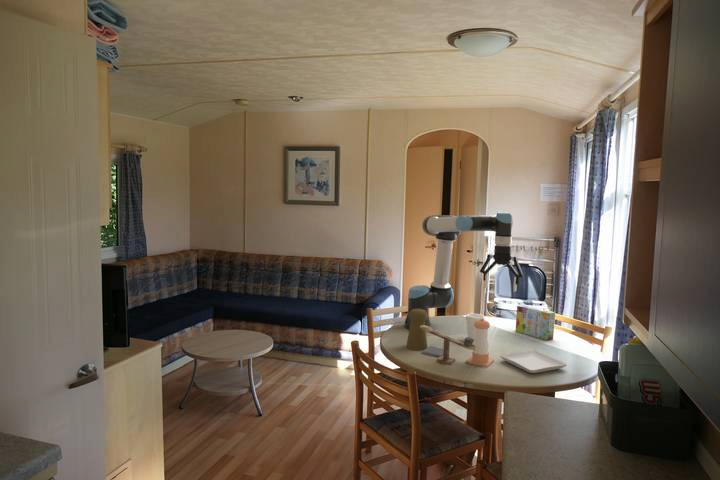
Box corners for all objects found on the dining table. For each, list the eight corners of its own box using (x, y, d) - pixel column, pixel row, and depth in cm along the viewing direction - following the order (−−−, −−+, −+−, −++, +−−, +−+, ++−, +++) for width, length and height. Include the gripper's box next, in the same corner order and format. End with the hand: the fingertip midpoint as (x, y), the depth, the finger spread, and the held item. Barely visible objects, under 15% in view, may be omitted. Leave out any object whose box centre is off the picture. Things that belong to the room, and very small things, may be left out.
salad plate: (531, 377, 210) (531, 369, 209) (498, 361, 229) (498, 354, 229) (568, 371, 218) (568, 363, 218) (533, 356, 237) (533, 349, 237)
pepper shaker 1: (412, 342, 253) (414, 306, 251) (431, 346, 247) (432, 309, 245) (402, 347, 244) (403, 309, 242) (421, 352, 238) (422, 313, 236)
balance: (416, 357, 230) (417, 326, 229) (422, 354, 235) (423, 324, 234) (471, 369, 216) (473, 337, 214) (476, 365, 221) (478, 334, 219)
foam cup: (481, 337, 265) (483, 314, 263) (484, 342, 255) (485, 318, 254) (464, 336, 266) (465, 313, 264) (466, 341, 256) (467, 317, 255)
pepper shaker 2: (476, 363, 222) (479, 321, 220) (469, 357, 229) (471, 317, 227) (491, 361, 224) (493, 320, 222) (483, 356, 230) (485, 316, 229)
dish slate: (421, 353, 236) (421, 351, 236) (430, 347, 245) (430, 346, 245) (441, 357, 231) (441, 355, 231) (449, 351, 239) (449, 349, 239)
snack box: (553, 339, 265) (555, 312, 264) (547, 341, 262) (549, 313, 260) (521, 329, 282) (522, 304, 281) (514, 331, 279) (516, 305, 278)
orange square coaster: (465, 362, 225) (465, 360, 224) (473, 356, 233) (473, 354, 233) (487, 367, 219) (487, 365, 219) (494, 361, 228) (494, 359, 228)
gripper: (474, 243, 236) (472, 287, 238) (528, 248, 223) (525, 294, 225) (479, 242, 243) (477, 285, 245) (532, 246, 229) (529, 291, 231)
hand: (500, 289), depth 235 cm, fingers open, 13 cm apart
